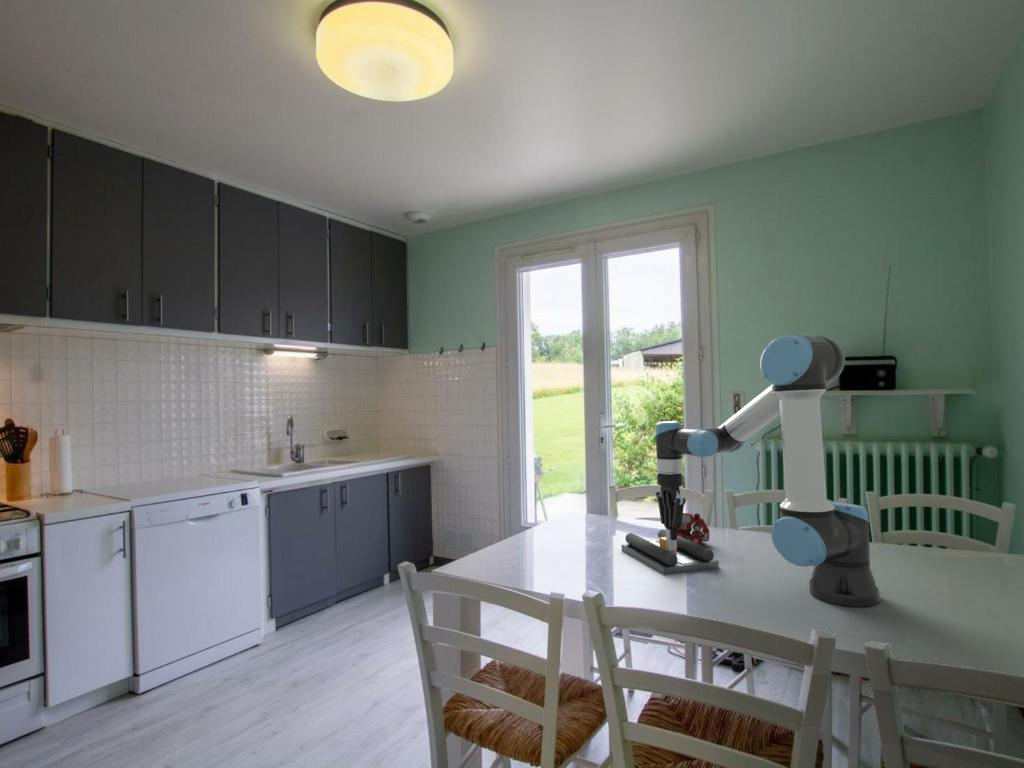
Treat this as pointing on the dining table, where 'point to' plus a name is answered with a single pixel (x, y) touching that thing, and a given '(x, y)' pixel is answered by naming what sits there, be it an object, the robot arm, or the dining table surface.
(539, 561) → the dining table surface
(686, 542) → the dark grey cylindrical rod
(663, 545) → the tan cardboard-colored block
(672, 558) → the dark grey cylinder rod
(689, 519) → the toy fire truck
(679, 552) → the panel
